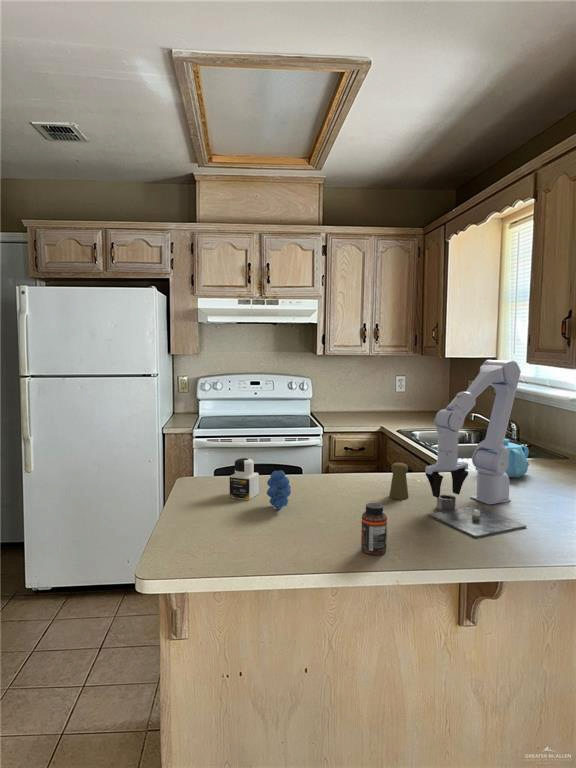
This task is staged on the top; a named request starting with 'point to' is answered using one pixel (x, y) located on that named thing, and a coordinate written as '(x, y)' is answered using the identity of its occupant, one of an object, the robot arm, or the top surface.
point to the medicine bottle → (244, 480)
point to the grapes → (278, 489)
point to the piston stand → (477, 521)
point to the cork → (399, 482)
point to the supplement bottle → (374, 530)
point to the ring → (446, 502)
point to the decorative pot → (516, 459)
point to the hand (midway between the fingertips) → (446, 495)
